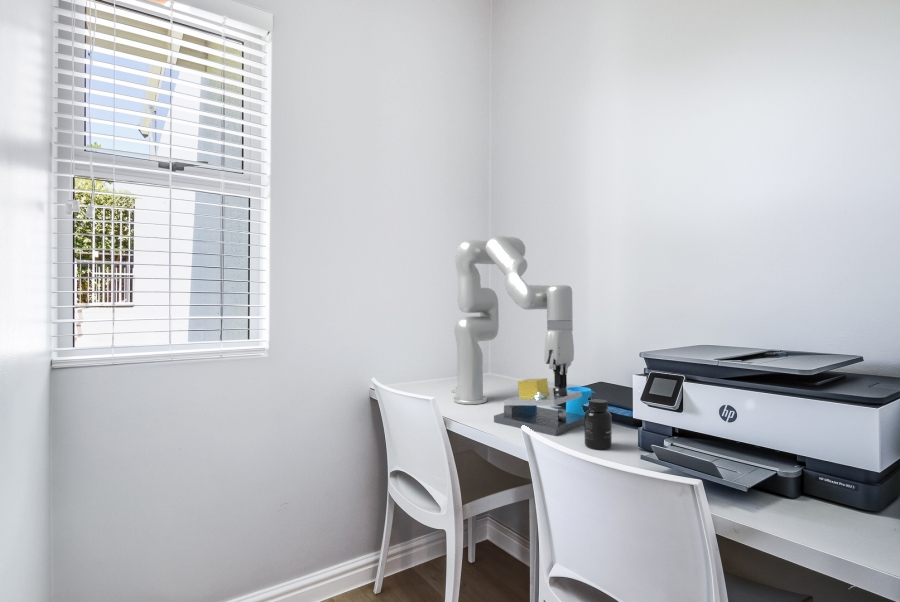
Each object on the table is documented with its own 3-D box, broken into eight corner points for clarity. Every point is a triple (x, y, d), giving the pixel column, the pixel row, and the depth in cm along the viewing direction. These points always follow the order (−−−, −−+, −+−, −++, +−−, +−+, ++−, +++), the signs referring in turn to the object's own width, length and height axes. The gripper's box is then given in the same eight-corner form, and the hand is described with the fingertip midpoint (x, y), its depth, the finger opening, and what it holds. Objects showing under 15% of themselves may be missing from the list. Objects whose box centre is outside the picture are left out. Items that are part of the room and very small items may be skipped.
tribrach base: (493, 422, 151) (493, 406, 151) (528, 411, 165) (528, 396, 165) (555, 435, 136) (555, 418, 136) (587, 422, 150) (587, 406, 150)
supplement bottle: (613, 451, 123) (613, 404, 122) (586, 449, 124) (586, 403, 124) (609, 442, 129) (609, 398, 129) (583, 441, 130) (583, 397, 130)
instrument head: (504, 405, 150) (501, 383, 150) (533, 397, 162) (530, 377, 162) (554, 405, 138) (551, 382, 138) (581, 396, 149) (579, 375, 150)
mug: (575, 417, 156) (575, 392, 156) (561, 411, 164) (561, 387, 164) (606, 414, 160) (606, 389, 160) (590, 408, 168) (590, 385, 168)
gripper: (561, 324, 153) (562, 382, 153) (535, 327, 142) (536, 389, 142) (583, 325, 148) (584, 385, 148) (557, 328, 137) (558, 392, 137)
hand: (560, 387), depth 145 cm, fingers closed
